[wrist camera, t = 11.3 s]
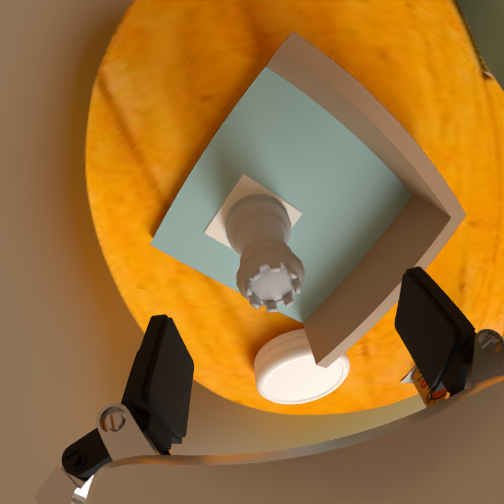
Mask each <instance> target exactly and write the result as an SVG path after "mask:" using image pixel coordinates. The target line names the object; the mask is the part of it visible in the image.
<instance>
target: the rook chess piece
mask: <svg viewBox="0 0 504 504" xmlns="http://www.w3.org/2000/svg"><path fill="white" fill-rule="evenodd" d="M291 225H292V224H291V221H290V218H289V216H288V213H287V210H286V208H285V207H284V206H283V205H282V204H281V203H280V202H279V201H278V200H277V199H275V198H273V197H270V196H268V195H250V196H247V197H245V198H242V199H240V200H239V201H237V202H236V203H235V204H234V205H233V206H232V207H231V208H230V210H229V213H228V215H227V217H226V220H225V226H226V235H227V239H228V241H229V243H230V245H231V247H232V249H233V250H234V251H235V252H236V253H238V254H239V255H240V256H241V257H240V267H239V269H238V271H237V273H236V280H237V287H238V289H239V291H240V293H241V294H242V296H244V297H245V298H246V299H248V300H249V301H250V304H251V305H252V306H253V307H255V308H256V309H257V310H258V308H259V307H260V306H261V305H263V306H266V309H267V312H278V311H277V305H279V304H282V303H284V304H285V305H286V307H287V308H288V307H290V306H291V305H292V304H293V303H295V299H294V295H295V294H297V293H299V294H301V287H302V284H303V283H304V275H305V270H304V267H303V264H302V261H301V260H300V259H299V258H298V257H297V256H296V255H295V254H294V253H293V252H292V251H291V248H290V247H289V246H288V245H287V244H288V242H289V240H290V237H291Z"/></svg>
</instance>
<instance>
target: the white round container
mask: <svg viewBox="0 0 504 504" xmlns="http://www.w3.org/2000/svg"><path fill="white" fill-rule="evenodd" d="M349 369H350V361H349V358H348V356H347V355H346V352H345V353H344V354H343V355H341V356H340V357H339V358H338V359H337V360H336V361H334V362H333V363H332V364H331V365H330V366H329V367H327V368H324V367H321V366H318V365H316V363H315V360H314V357H313V354H312V350H311V347H310V344H309V341H308V338H307V335H306V332H305V329H304V328H303V329H296V330H292V331H289V332H286V333H283V334H281V335H279V336H277V337H275V338H273V339H271V340H270V341H268V342H267V343H266V344H265V345H264V346H263V347H262V348H261V349H260V350H259V352H258V353H257V355H256V357H255V361H254V371H255V379H256V388H257V390H258V392H259V393H260V394H261V395H262V396H263V397H264V398H266V399H268V400H270V401H273V402H276V403H281V404H299V403H305V402H309V401H313V400H316V399H318V398H321V397H323V396H325V395H327V394H329V393H330V392H332V391H333V390H335V389H336V388H337V387H338V386H339V385H340V384H341V383H342V382H343V381H344V379H345V378H346V376H347V375H348V372H349Z"/></svg>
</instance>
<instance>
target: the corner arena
mask: <svg viewBox="0 0 504 504" xmlns="http://www.w3.org/2000/svg"><path fill="white" fill-rule="evenodd" d="M250 195H268V196H270V197H273V198H275V199H277V200H278V201H279V202H280V203H281V204H282V205H283V206H284V207H285V208H286V210H287V213H288V216H289V218H290V221H291V224H292V225H291V237H290V240H289V242H288V244H287V245H288V246H289V247H290V248H291V251H292V252H293V253H294V254H295V255H296V256H297V257H298V258H299V259H300V260H301V261H302V264H303V267H304V270H305V275H304V283H303V284H302V287H301V294H299V293H297V294H295V295H294V299H295V303H293V304H292V305H291V306H290V307H288V308H287V307H286V305H285V304H284V303H282V304H279V305H277V311H278V312H280V313H282V314H284V315H286V316H289V317H291V318H293V319H295V320H297V321H299V322H301V323H303V326H304V329H305V332H306V335H307V338H308V341H309V344H310V347H311V350H312V354H313V357H314V360H315V363H316V365H318V366H321V367H324V368H327V367H329V366H330V365H331V364H332V363H333V362H334V361H336V360H337V359H338V358H339V357H340V356H341V355H343V354H344V353H345V352H346V351H347V350H348V349H349V348H350V347H352V346H353V345H354V344H355V343H356V342H357V341H358V340H359V339H360V338H361V337H362V336H363V335H365V334H366V333H367V332H368V331H369V330H370V329H371V328H372V327H373V326H374V325H375V324H376V323H377V322H378V321H379V320H380V319H381V318H382V317H383V316H384V315H385V314H386V313H387V312H388V311H389V310H390V309H391V308H392V307H393V305H394V304H395V303H396V302H397V301H398V300H399V295H400V289H401V283H402V276H403V274H404V273H405V272H406V270H407V269H409V268H413V267H417V266H420V267H421V268H422V269H423V270H424V271H425V269H426V268H427V267H428V266H429V264H430V263H431V262H432V261H433V260H434V258H435V257H436V256H437V254H438V253H439V252H440V251H441V249H442V248H443V247H444V245H445V244H446V243H447V241H448V240H449V239H450V237H451V236H452V234H453V233H454V232H455V230H456V229H457V227H458V226H459V225H460V223H461V222H462V220H463V219H464V217H465V216H466V213H465V212H464V210H463V208H462V207H461V205H460V203H459V202H458V200H457V198H456V197H455V195H454V194H453V192H452V191H451V189H450V188H449V186H448V185H447V183H446V182H445V180H444V179H443V177H442V176H441V174H440V173H439V172H438V170H437V169H436V167H435V166H434V165H433V163H432V162H431V161H430V159H429V158H428V157H427V155H426V154H425V153H424V152H423V150H422V149H421V148H420V147H419V145H418V144H417V143H416V142H415V140H414V139H413V138H412V137H411V136H410V134H409V133H408V132H407V131H406V130H405V129H404V127H403V126H402V125H401V124H400V123H399V122H398V121H397V120H396V119H395V117H394V116H393V115H392V114H391V113H390V112H389V111H388V110H387V109H386V108H385V107H384V106H383V105H382V104H381V103H380V102H379V101H378V100H377V99H376V98H375V97H374V96H373V95H372V94H371V93H370V92H369V91H368V90H367V89H366V88H365V87H364V86H362V85H361V84H360V83H359V82H358V81H357V80H356V79H355V78H354V77H352V76H351V75H350V74H349V73H348V72H347V71H346V70H344V69H343V68H342V67H341V66H340V65H338V64H337V63H336V62H335V61H333V60H332V59H331V58H330V57H328V56H327V55H326V54H324V53H323V52H322V51H320V50H319V49H318V48H316V47H315V46H314V45H312V44H311V43H309V42H308V41H307V40H305V39H304V38H302V37H301V36H299V35H298V34H296V33H295V32H292V33H291V34H290V36H289V37H288V38H287V39H286V40H285V41H284V42H283V44H282V45H281V46H280V47H279V48H278V50H277V51H276V52H275V54H274V55H273V57H272V58H271V59H270V61H269V62H268V64H267V65H266V67H265V68H264V69H263V70H262V72H261V73H260V74H259V75H258V77H257V78H256V79H255V80H254V82H253V83H252V84H251V86H250V87H249V88H248V90H247V91H246V92H245V93H244V95H243V96H242V98H241V99H240V100H239V102H238V103H237V104H236V106H235V107H234V108H233V110H232V111H231V113H230V114H229V115H228V117H227V118H226V120H225V121H224V122H223V124H222V125H221V127H220V128H219V130H218V131H217V133H216V134H215V136H214V137H213V139H212V140H211V142H210V143H209V145H208V146H207V148H206V149H205V151H204V152H203V154H202V155H201V157H200V158H199V160H198V162H197V163H196V165H195V166H194V168H193V170H192V171H191V173H190V174H189V176H188V178H187V179H186V181H185V183H184V184H183V186H182V188H181V189H180V191H179V193H178V194H177V196H176V198H175V200H174V201H173V203H172V205H171V207H170V208H169V210H168V212H167V214H166V215H165V217H164V219H163V221H162V223H161V225H160V226H159V228H158V230H157V232H156V234H155V236H154V238H153V240H152V242H151V243H150V245H152V246H153V247H155V248H157V249H159V250H161V251H162V252H164V253H166V254H168V255H170V256H172V257H173V258H175V259H177V260H179V261H181V262H183V263H184V264H186V265H188V266H190V267H192V268H194V269H196V270H197V271H199V272H201V273H203V274H205V275H207V276H209V277H211V278H213V279H215V280H216V281H218V282H220V283H222V284H224V285H226V286H228V287H230V288H232V289H234V290H236V291H238V292H240V291H239V289H238V287H237V280H236V273H237V271H238V269H239V267H240V257H241V256H240V255H239V254H238V253H236V252H235V251H234V250H233V249H232V247H231V245H230V243H229V241H228V239H227V235H226V226H225V220H226V217H227V215H228V213H229V210H230V208H231V207H232V206H233V205H234V204H235V203H236V202H237V201H239V200H240V199H242V198H245V197H247V196H250Z"/></svg>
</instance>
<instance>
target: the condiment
mask: <svg viewBox="0 0 504 504" xmlns="http://www.w3.org/2000/svg"><path fill="white" fill-rule="evenodd" d="M400 383H414V385H415V387H416V389H417V390H418V392H419V394H420V396H421V398H422V400H423V402H424V404H425V405H426V407H427V408H428V407H430V406H432V405H434V404H436V403H439V402H441V401H443V400H445V399H446V394H447V391H446V389H445V388H443V389H441V390H439V391H437V392H435V393H434V391H433V389H432V387H428V386H427V384H426V382H425V380H424V378H423V376H422V374H421V373H420V371H419V369H418V367H417V366H416V367H415V368H414V369H413V370H412V371H411V372H410V373H409V374H408V375H407V377H405V378H404V379H403V380H402V381H401V382H400Z"/></svg>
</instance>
